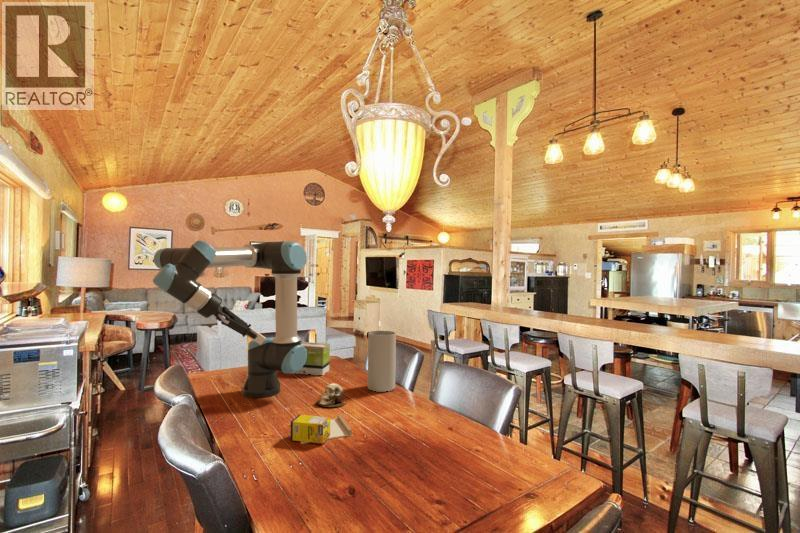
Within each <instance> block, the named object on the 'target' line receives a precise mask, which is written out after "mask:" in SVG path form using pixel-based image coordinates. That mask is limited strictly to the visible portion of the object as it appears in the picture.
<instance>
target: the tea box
mask: <svg viewBox="0 0 800 533" xmlns="http://www.w3.org/2000/svg"><path fill="white" fill-rule="evenodd" d="M301 345H302V346H304V347H305V349H306V350H307V359H306V362H305V364H304V365H303V367H302V368H301V370H299V371H298V372H296V375H297V374H298V375H308V374H311V376H318V375H323V376H324V375H326V374H327V373H328V372H330V363H331V362H330V357H331V356H330V355H331V354H330V353H331V352H330V351H331V344H330V343H324V342H323V343H322V342H309V341H308V342H307V341H303V342H301ZM326 372H327V373H326ZM325 373H326V374H325Z"/></svg>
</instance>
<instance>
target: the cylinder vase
mask: <svg viewBox="0 0 800 533" xmlns="http://www.w3.org/2000/svg"><path fill="white" fill-rule="evenodd" d="M367 335H368V340H367V343H368V344H367V389H368V390H370V391H371V390H372V392H375V391H376V393H387V392H386V391H388V392H391V391H393V390H394V389H395V388H396V367H397V366H396V363H397V361H396V359H397V357H396V356H397V354H396V353H397V345H396V344H397V332H395V331H391V330H373V331H369V332H368V333H367Z"/></svg>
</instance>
